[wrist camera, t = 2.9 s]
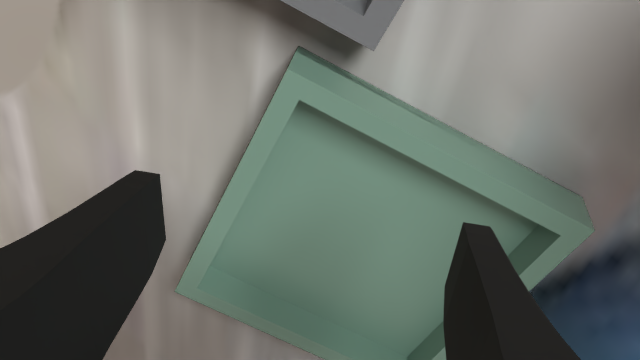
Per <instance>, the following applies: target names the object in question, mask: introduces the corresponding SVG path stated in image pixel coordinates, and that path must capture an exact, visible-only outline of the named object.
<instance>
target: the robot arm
mask: <svg viewBox="0 0 640 360" xmlns="http://www.w3.org/2000/svg"><path fill="white" fill-rule="evenodd" d="M165 240H166V235H165V225H164V214H163V204H162V193H161V183H160V174H155V173H149V172H143V171H136V170H135V171H133V172H132V173H130V174H128V175H126V176H125V177H123V178H122V179H120V180H118V181H117V182H115V183H114V184H112V185H111V186H109V187H107V188H106V189H104V190H103V191H101V192H100V193H98V194H97V195H95V196H93V197H92V198H90V199H89V200H87V201H85V202H84V203H82V204H81V205H79V206H77V207H76V208H74V209H73V210H71V211H69V212H68V213H66V214H64V215H63V216H61V217H59V218H57V219H55V220H54V221H52V222H50V223H48V224H47V225H45V226H43V227H41V228H40V229H38V230H36V231H34V232H32V233H31V234H29V235H27V236H25V237H23V238H21V239H19V240H17V241H15V242H13V243H11V244H9V245H7V246H5V247H3V248H0V360H103V358H104V356H105V354H106V352H107V350H108V348H109V347H110V345H111V343H112V342H113V340H114V338H115V336H116V335H117V333H118V331H119V330H120V328H121V326H122V325H123V323H124V321H125V319H126V318H127V316H128V314H129V313H130V311H131V309H132V308H133V306H134V304H135V302H136V301H137V299H138V297H139V296H140V294H141V292H142V290H143V289H144V287H145V285H146V283H147V282H148V280H149V278H150V276H151V274H152V272H153V270H154V267H155V265H156V263H157V260H158V258H159V255H160V253H161V250H162V248H163V245H164V243H165ZM443 327H444V339H445V350H446V360H581V359H580V358H579V357H578V356H577V355H576V353H575V352H574V351H573V350H572V349H571V348H570V347H569V345H568V344H567V343H566V342H565V341H564V340H563V338H562V337H561V336H560V334H559V333H558V332H557V331H556V329H555V328H554V327H553V325H552V324H551V323H550V321H549V320H548V318H547V317H546V316H545V314H544V313H543V312H542V310H541V309H540V307H539V306H538V304H537V303H536V301H535V300H534V298H533V297H532V295H531V294H530V292H529V291H528V289H527V288H526V286H525V285H524V283H523V281H522V280H521V278H520V277H519V275H518V273H517V272H516V270H515V268H514V267H513V265H512V263H511V262H510V260H509V258H508V256H507V255H506V253H505V251H504V249H503V248H502V246H501V244H500V242H499V240H498V238H497V237H496V235H495V233H494V231H493V230H492V228H491V227H490V226H485V225H478V224H472V223H466V222H463V224H462V228H461V231H460V235H459V238H458V242H457V245H456V249H455V252H454V255H453V259H452V262H451V266H450V269H449V273H448V276H447V280H446V283H445V290H444V318H443Z"/></svg>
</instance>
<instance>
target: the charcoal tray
mask: <svg viewBox="0 0 640 360" xmlns="http://www.w3.org/2000/svg"><path fill="white" fill-rule="evenodd" d="M281 1H283V2H284V3H286V4H288V5H290V6H292V7H294V8H295V9H297V10H299V11H301V12H303V13H305V14H306V15H308V16H310V17H312V18H314V19H316V20H317V21H319V22H321V23H323V24H325V25H327V26H328V27H330V28H332V29H334V30H336V31H338V32H339V33H341V34H343V35H345V36H347V37H349V38H350V39H352V40H354V41H356V42H358V43H360V44H361V45H363V46H365V47H367V48H369V49H371V50H373V51H374V50H375V48H376V46H377V45H378V43H379V41H380V40H381V38H382V36H383V35H384V33H385V31H386V30H387V28H388V26H389V25H390V23H391V21H392V20H393V18H394V16H395V15H396V13H397V11H398V10H399V8H400V6H401V5H402V3H403V1H404V0H281Z"/></svg>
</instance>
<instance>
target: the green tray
mask: <svg viewBox="0 0 640 360" xmlns="http://www.w3.org/2000/svg"><path fill="white" fill-rule="evenodd" d="M463 222H466V223H472V224H478V225H485V226H490V227H491V228H492V230H493V231H494V233H495V235H496V237H497V238H498V240H499V242H500V244H501V246H502V248H503V249H504V251H505V253H506V255H507V256H508V258H509V260H510V262H511V263H512V265H513V267H514V268H515V270H516V272H517V273H518V275H519V277H520V278H521V280H522V281H523V283H524V285H525V286H526V288H527V289H528V291H530V290H531V289H532V288H533V287H534V286H536V285H537V284H538V283H539V282H540V281H541V280H542V279H543V278H544V277H545V276H546V275H547V274H549V273H550V272H551V271H552V270H553V269H554V268H555V267H556V266H557V265H558V264H559V263H561V262H562V261H563V260H564V259H565V258H566V257H567V256H568V255H569V254H570V253H571V252H572V251H574V250H575V249H576V248H577V247H578V246H579V245H580V244H581V243H582V242H583V241H584V240H586V239H587V238H588V237H589V236H590V235H591V234H592V233H593V232H594V231H595V229H594V227H593V224H592V221H591V219H590V216H589V214H588V211H587V208H586V206H585V203H584V200H583V198H582V197H581V196H579V195H577V194H575V193H573V192H571V191H569V190H567V189H566V188H564V187H562V186H560V185H558V184H556V183H554V182H553V181H551V180H549V179H547V178H545V177H543V176H541V175H539V174H538V173H536V172H534V171H532V170H530V169H528V168H526V167H524V166H523V165H521V164H519V163H517V162H515V161H513V160H511V159H509V158H508V157H506V156H504V155H502V154H500V153H498V152H496V151H495V150H493V149H491V148H489V147H487V146H485V145H483V144H481V143H480V142H478V141H476V140H474V139H472V138H470V137H468V136H466V135H465V134H463V133H461V132H459V131H457V130H455V129H453V128H451V127H450V126H448V125H446V124H444V123H442V122H440V121H438V120H437V119H435V118H433V117H431V116H429V115H427V114H425V113H423V112H422V111H420V110H418V109H416V108H414V107H412V106H410V105H408V104H407V103H405V102H403V101H401V100H399V99H397V98H395V97H393V96H392V95H390V94H388V93H386V92H384V91H382V90H380V89H379V88H377V87H375V86H373V85H371V84H369V83H367V82H365V81H364V80H362V79H360V78H358V77H356V76H354V75H352V74H350V73H349V72H347V71H345V70H343V69H341V68H339V67H337V66H335V65H334V64H332V63H330V62H328V61H326V60H324V59H322V58H321V57H319V56H317V55H315V54H313V53H311V52H309V51H307V50H306V49H304V48H302V47H300V46H298V48H297V50H296V52H295V54H294V56H293V58H292V60H291V62H290V64H289V66H288V68H287V70H286V72H285V74H284V76H283V78H282V80H281V82H280V84H279V86H278V88H277V90H276V92H275V93H274V95H273V97H272V99H271V101H270V103H269V105H268V107H267V109H266V111H265V113H264V115H263V117H262V119H261V121H260V123H259V125H258V127H257V129H256V131H255V133H254V135H253V137H252V139H251V141H250V143H249V145H248V147H247V149H246V151H245V153H244V155H243V157H242V159H241V161H240V163H239V165H238V167H237V168H236V170H235V172H234V174H233V176H232V178H231V180H230V182H229V184H228V186H227V188H226V190H225V192H224V194H223V196H222V198H221V200H220V202H219V204H218V206H217V208H216V210H215V212H214V214H213V216H212V218H211V220H210V222H209V224H208V226H207V228H206V230H205V232H204V234H203V236H202V238H201V240H200V242H199V243H198V245H197V247H196V249H195V251H194V253H193V255H192V257H191V259H190V261H189V263H188V265H187V267H186V269H185V271H184V273H183V276H182V278H181V280H180V282H179V284H178V286H177V288H176V290H175V292H176V293H178V294H181V295H183V296H185V297H187V298H190V299H192V300H194V301H196V302H198V303H201V304H203V305H205V306H207V307H210V308H212V309H214V310H216V311H218V312H221V313H223V314H225V315H227V316H230V317H232V318H234V319H236V320H238V321H241V322H243V323H245V324H247V325H250V326H252V327H254V328H256V329H258V330H261V331H263V332H265V333H267V334H269V335H272V336H274V337H276V338H278V339H281V340H283V341H285V342H287V343H289V344H292V345H294V346H296V347H298V348H301V349H303V350H305V351H307V352H309V353H312V354H314V355H316V356H318V357H321V358H323V359H325V360H446V350H445V339H444V327H443V318H444V290H445V283H446V280H447V276H448V273H449V269H450V266H451V262H452V259H453V255H454V252H455V249H456V245H457V242H458V238H459V235H460V231H461V228H462V224H463Z"/></svg>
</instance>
